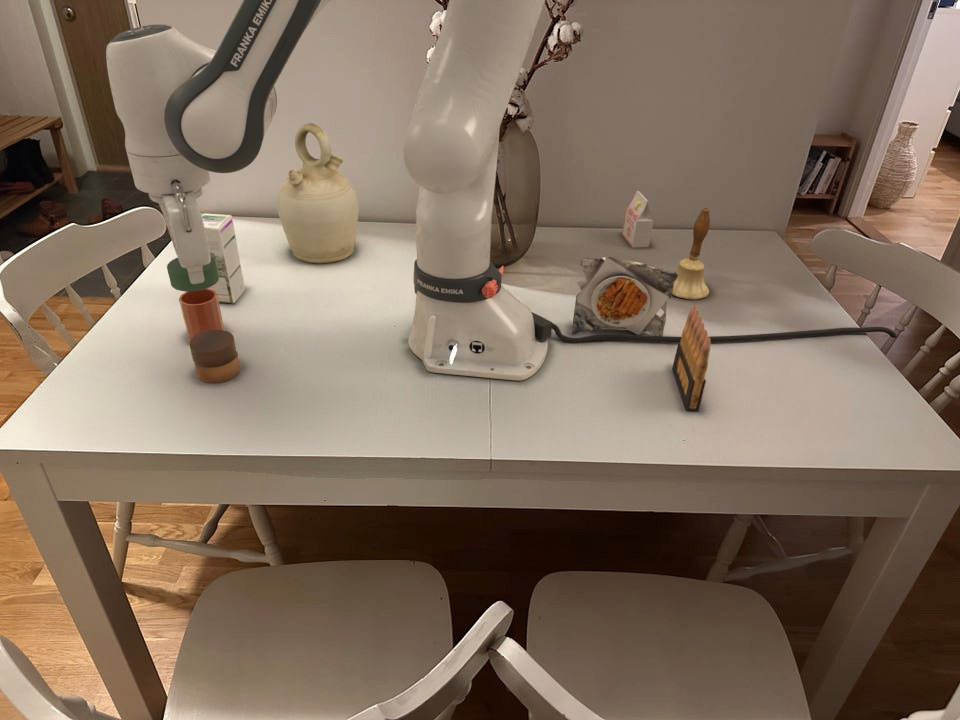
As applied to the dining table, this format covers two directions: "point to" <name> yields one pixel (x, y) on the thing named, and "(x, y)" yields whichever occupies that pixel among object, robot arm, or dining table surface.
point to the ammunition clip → (692, 361)
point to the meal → (622, 296)
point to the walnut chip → (213, 348)
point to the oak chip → (219, 371)
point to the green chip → (181, 277)
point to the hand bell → (693, 264)
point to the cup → (201, 311)
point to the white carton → (638, 222)
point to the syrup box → (224, 256)
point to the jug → (318, 204)
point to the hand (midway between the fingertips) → (192, 269)
